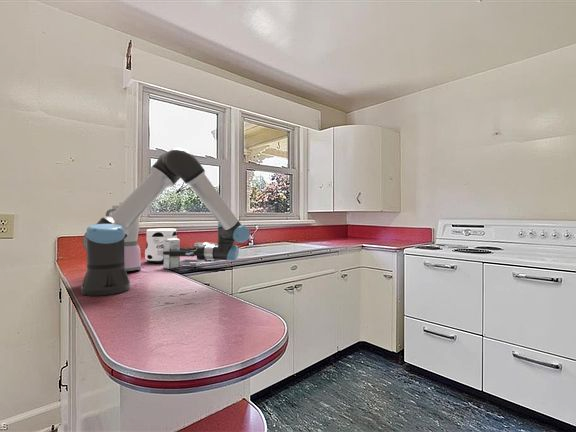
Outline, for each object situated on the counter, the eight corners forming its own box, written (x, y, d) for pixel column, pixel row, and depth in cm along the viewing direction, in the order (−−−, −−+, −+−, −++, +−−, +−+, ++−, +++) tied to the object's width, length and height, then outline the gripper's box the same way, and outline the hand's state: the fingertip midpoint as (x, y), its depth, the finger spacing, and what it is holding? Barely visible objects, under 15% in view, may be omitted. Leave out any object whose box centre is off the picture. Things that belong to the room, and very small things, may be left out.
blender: (129, 268, 157) (129, 203, 156) (146, 270, 151) (146, 202, 150) (98, 273, 143) (97, 202, 142) (115, 276, 137) (114, 202, 136)
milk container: (168, 264, 166) (168, 230, 166) (138, 264, 169) (137, 230, 169) (184, 259, 184) (183, 228, 183) (156, 259, 186) (156, 228, 186)
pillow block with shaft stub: (214, 261, 178) (213, 243, 178) (193, 260, 180) (193, 243, 179) (217, 259, 184) (217, 242, 184) (197, 259, 186) (197, 242, 185)
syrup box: (173, 266, 162) (173, 237, 162) (180, 267, 158) (179, 238, 158) (163, 267, 158) (162, 238, 157) (169, 269, 154) (169, 239, 154)
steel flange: (196, 266, 162) (196, 263, 162) (174, 265, 163) (174, 262, 163) (205, 262, 174) (205, 259, 174) (184, 262, 175) (184, 259, 175)
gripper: (198, 263, 146) (151, 262, 148) (213, 256, 166) (171, 256, 168) (198, 246, 146) (151, 246, 148) (213, 242, 166) (171, 241, 168)
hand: (162, 251), depth 158 cm, fingers closed on syrup box, 7 cm apart
